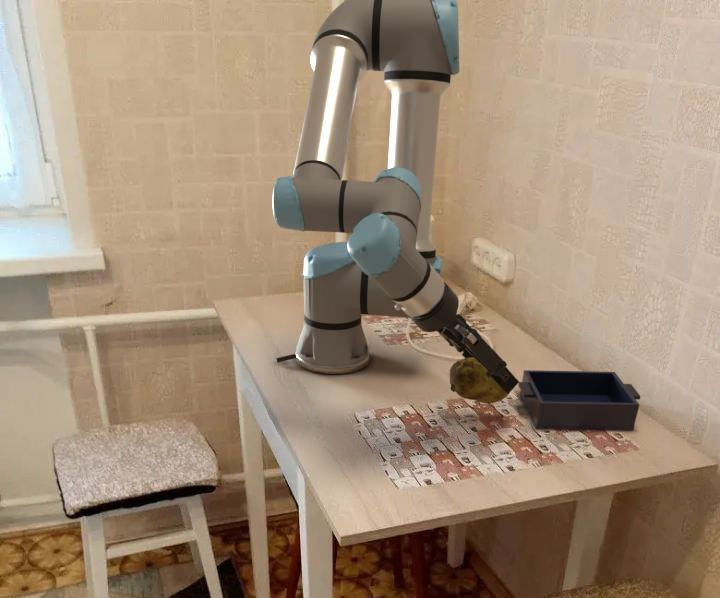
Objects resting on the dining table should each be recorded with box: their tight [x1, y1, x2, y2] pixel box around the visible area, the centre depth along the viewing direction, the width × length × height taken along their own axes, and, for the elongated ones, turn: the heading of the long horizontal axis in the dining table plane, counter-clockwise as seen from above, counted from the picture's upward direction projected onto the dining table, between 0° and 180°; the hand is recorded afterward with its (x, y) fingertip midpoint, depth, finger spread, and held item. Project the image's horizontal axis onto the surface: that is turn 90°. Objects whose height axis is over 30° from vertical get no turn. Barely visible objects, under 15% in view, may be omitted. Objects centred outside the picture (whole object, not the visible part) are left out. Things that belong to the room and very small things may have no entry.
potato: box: [449, 358, 509, 404], centre depth 126 cm, size 8×13×8 cm, turn 105°
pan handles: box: [517, 381, 641, 401], centre depth 134 cm, size 21×5×1 cm, turn 91°
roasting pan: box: [519, 369, 640, 431], centre depth 135 cm, size 17×14×5 cm
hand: (499, 378), depth 128 cm, fingers closed on potato, 7 cm apart
